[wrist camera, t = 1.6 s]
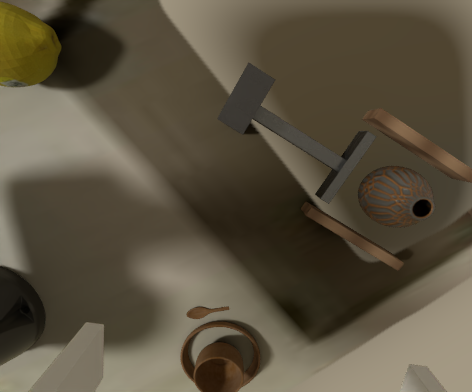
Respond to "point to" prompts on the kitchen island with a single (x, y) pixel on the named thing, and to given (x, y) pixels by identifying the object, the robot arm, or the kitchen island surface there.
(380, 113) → the channel
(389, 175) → the vase
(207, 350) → the place setting
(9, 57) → the lemon
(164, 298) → the kitchen island surface
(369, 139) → the lopsided grey dumbbell
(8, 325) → the robot arm
